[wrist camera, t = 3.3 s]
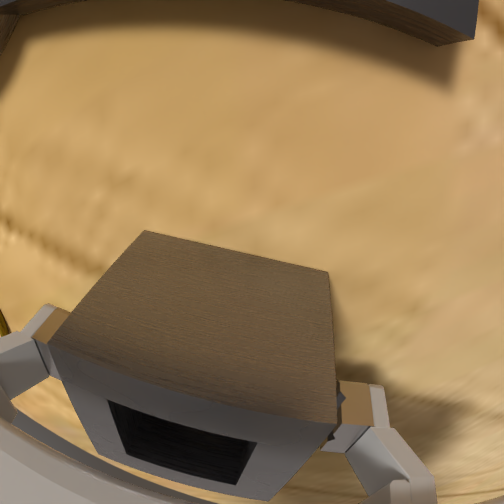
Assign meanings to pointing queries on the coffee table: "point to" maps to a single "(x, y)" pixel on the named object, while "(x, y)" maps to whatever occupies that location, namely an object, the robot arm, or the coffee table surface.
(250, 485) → the socket
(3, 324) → the extension cord
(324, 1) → the ratchet
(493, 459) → the coffee table surface
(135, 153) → the coffee table surface
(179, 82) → the coffee table surface
